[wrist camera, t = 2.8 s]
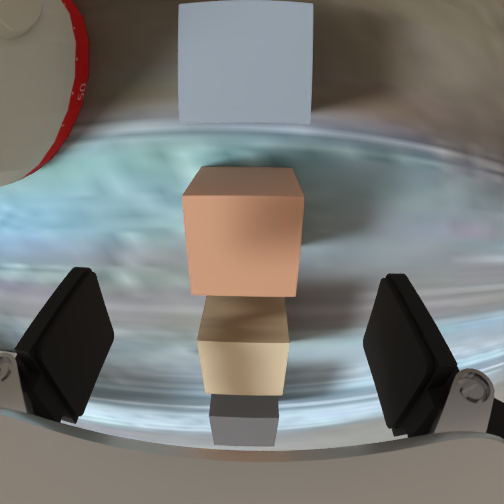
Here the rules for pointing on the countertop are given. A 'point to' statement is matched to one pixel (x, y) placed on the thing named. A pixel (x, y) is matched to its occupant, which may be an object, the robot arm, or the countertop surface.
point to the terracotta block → (243, 231)
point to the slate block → (245, 61)
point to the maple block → (243, 345)
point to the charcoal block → (244, 419)
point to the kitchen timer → (39, 81)
